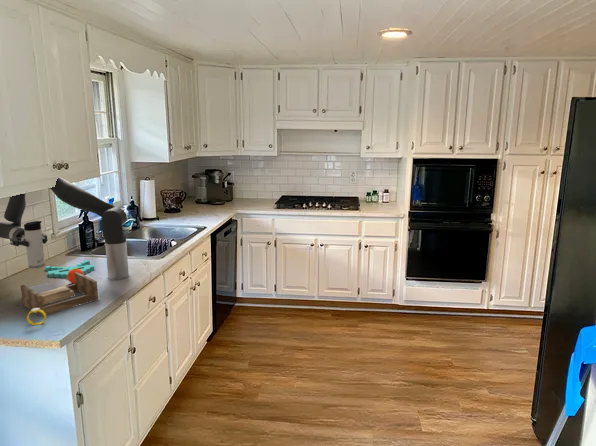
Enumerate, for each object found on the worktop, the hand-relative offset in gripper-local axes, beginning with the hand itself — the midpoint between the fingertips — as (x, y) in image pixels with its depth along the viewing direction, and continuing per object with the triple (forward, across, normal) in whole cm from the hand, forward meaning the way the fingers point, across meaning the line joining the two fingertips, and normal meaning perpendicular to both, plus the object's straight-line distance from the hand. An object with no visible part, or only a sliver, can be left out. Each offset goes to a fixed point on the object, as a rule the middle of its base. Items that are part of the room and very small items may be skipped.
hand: (36, 242), depth 187 cm
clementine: (+1, +14, +22) cm, 26 cm away
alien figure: (-17, +20, +23) cm, 34 cm away
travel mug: (-2, 0, +11) cm, 11 cm away
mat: (-2, 0, +22) cm, 22 cm away
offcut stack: (+14, 0, +22) cm, 26 cm away
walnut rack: (+19, 0, +22) cm, 29 cm away
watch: (+34, -15, +22) cm, 43 cm away
